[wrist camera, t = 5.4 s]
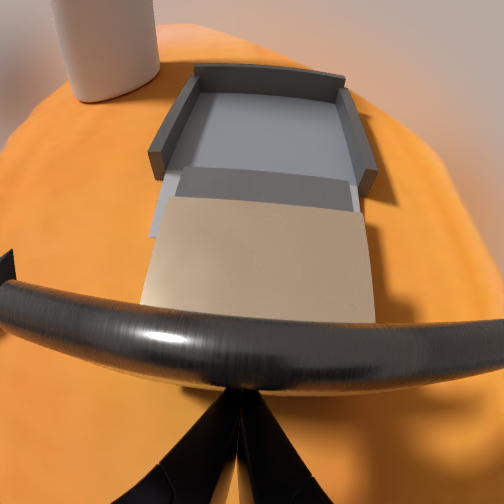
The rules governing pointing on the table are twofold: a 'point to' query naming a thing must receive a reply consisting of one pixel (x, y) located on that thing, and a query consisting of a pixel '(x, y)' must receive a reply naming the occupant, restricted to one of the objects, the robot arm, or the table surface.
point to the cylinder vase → (106, 45)
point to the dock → (262, 128)
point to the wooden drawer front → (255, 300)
